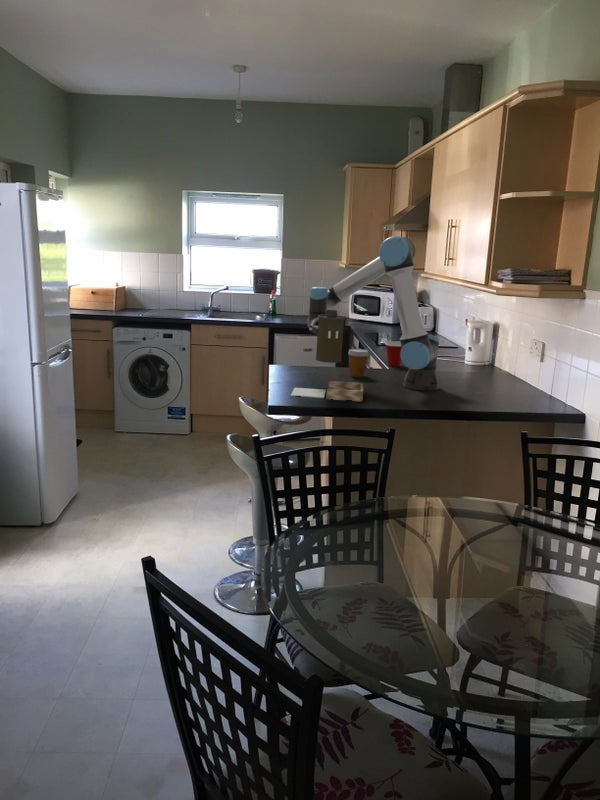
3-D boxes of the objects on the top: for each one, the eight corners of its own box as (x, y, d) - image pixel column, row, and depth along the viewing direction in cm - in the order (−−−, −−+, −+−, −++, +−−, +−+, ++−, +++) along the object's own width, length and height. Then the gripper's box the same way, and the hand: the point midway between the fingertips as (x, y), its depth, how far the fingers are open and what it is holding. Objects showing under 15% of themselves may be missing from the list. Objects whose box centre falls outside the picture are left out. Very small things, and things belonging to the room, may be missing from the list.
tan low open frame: (362, 392, 268) (363, 383, 267) (362, 401, 253) (363, 391, 252) (328, 390, 269) (328, 381, 268) (326, 399, 254) (326, 389, 253)
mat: (325, 390, 268) (325, 389, 268) (323, 398, 255) (323, 397, 255) (294, 388, 269) (294, 387, 269) (290, 396, 256) (290, 394, 256)
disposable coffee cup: (366, 378, 298) (368, 352, 295) (345, 376, 299) (347, 351, 296) (367, 374, 307) (369, 349, 304) (347, 373, 308) (349, 348, 306)
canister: (319, 362, 252) (323, 311, 247) (311, 357, 262) (315, 307, 257) (346, 362, 255) (350, 311, 251) (337, 357, 265) (341, 308, 260)
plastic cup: (378, 365, 334) (380, 342, 331) (390, 363, 342) (392, 340, 339) (397, 368, 327) (399, 344, 324) (408, 366, 335) (410, 343, 332)
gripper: (338, 336, 276) (351, 345, 253) (303, 335, 273) (313, 343, 250) (339, 318, 274) (353, 325, 251) (304, 317, 271) (314, 324, 249)
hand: (333, 334), depth 251 cm, fingers closed on canister, 2 cm apart
